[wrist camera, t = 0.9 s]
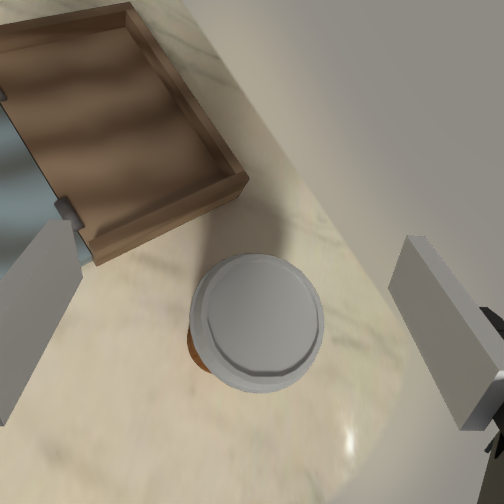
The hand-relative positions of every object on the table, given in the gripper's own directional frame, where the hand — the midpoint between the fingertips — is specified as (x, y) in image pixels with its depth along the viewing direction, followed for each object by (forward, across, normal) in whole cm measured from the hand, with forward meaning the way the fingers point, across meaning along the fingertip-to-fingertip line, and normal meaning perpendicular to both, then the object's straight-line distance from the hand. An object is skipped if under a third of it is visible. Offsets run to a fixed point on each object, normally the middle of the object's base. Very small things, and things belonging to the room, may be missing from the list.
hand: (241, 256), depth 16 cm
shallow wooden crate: (+25, -15, -5) cm, 29 cm away
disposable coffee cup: (+12, -1, -18) cm, 22 cm away
